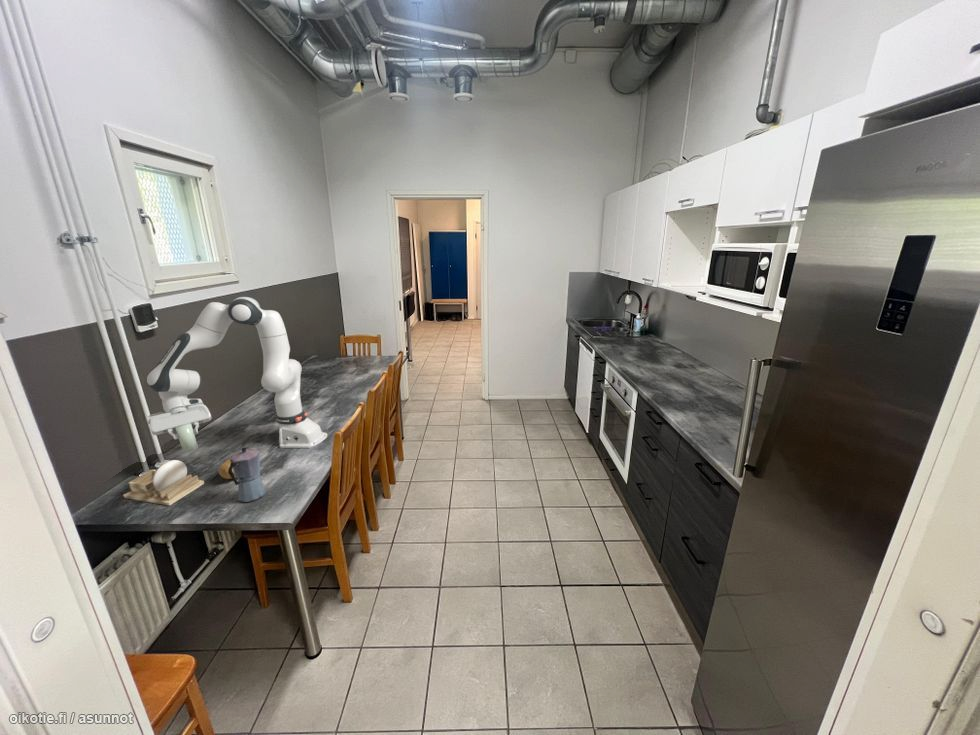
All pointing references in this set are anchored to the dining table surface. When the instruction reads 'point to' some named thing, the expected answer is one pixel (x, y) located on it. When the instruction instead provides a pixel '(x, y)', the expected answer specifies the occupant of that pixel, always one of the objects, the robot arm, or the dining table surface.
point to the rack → (163, 484)
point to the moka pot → (247, 474)
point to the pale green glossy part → (186, 437)
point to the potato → (226, 470)
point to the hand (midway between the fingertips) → (186, 436)
